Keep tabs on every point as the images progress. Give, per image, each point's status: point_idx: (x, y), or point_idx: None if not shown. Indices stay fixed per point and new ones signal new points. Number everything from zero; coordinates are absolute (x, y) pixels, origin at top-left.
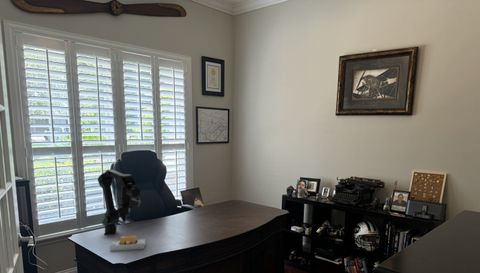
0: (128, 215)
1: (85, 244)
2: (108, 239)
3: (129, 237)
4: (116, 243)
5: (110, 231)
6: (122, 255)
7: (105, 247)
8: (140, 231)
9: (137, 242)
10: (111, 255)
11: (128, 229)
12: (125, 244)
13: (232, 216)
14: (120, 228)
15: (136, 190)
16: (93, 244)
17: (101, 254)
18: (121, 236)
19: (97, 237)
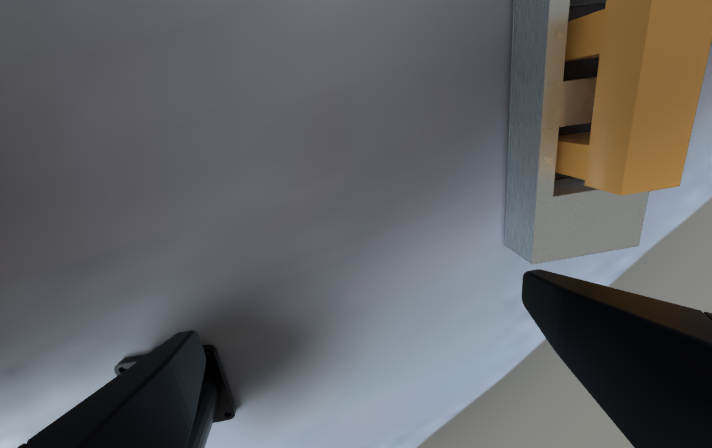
0: (172, 363)
1: (425, 433)
2: (336, 339)
3: (696, 72)
4: (601, 211)
5: (210, 395)
6: (707, 99)
7: (506, 292)
8: (66, 109)
9: None
10: (673, 189)
11: (29, 273)
12: None
13: None
14: (20, 360)
15: None
16: (432, 390)
17: (629, 265)
18: (624, 191)
19: (290, 428)
